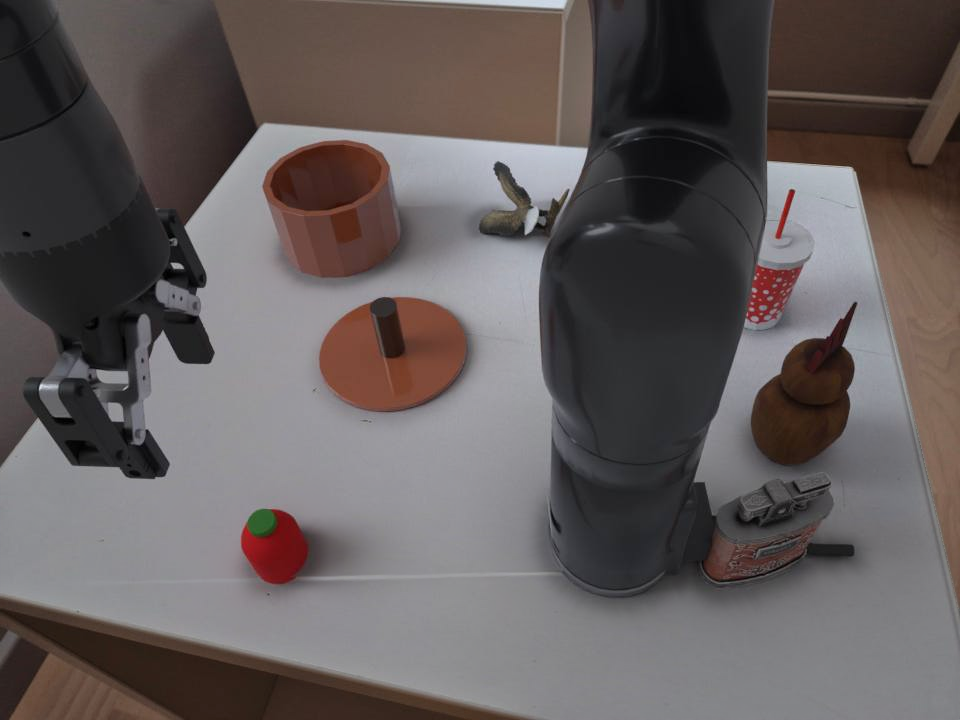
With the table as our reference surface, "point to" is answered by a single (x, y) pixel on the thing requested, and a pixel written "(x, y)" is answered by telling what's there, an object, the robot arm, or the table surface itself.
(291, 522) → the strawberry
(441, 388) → the lid
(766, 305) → the beverage cup
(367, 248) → the pot
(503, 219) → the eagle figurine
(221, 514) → the table surface
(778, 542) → the lighter
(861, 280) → the table surface
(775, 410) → the wooden figurine
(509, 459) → the table surface
